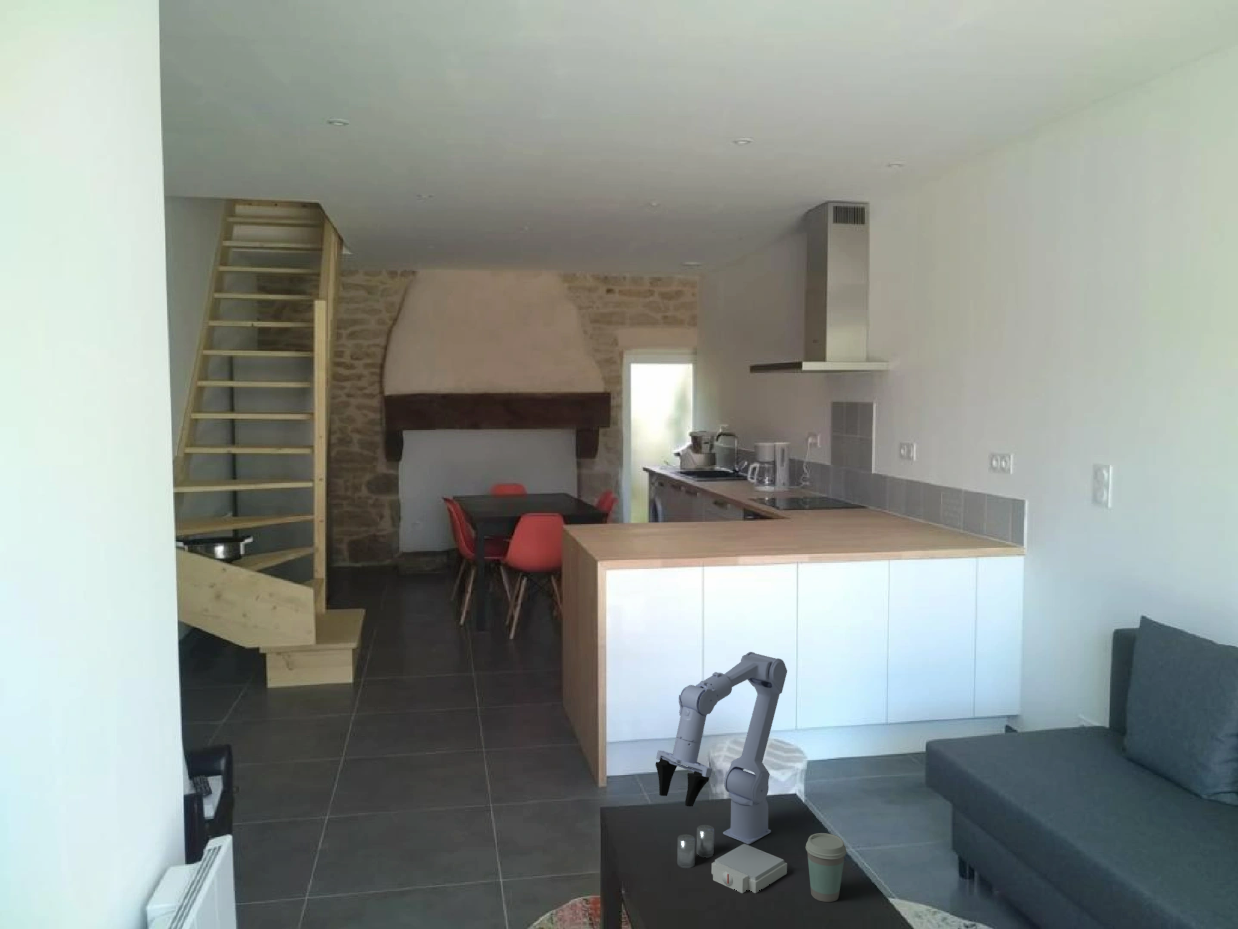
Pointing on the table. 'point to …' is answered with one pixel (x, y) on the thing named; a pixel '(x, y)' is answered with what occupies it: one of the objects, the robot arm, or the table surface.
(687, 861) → the cylinder
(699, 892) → the table surface
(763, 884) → the grey flat ridged box
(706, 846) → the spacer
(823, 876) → the coffee cup
